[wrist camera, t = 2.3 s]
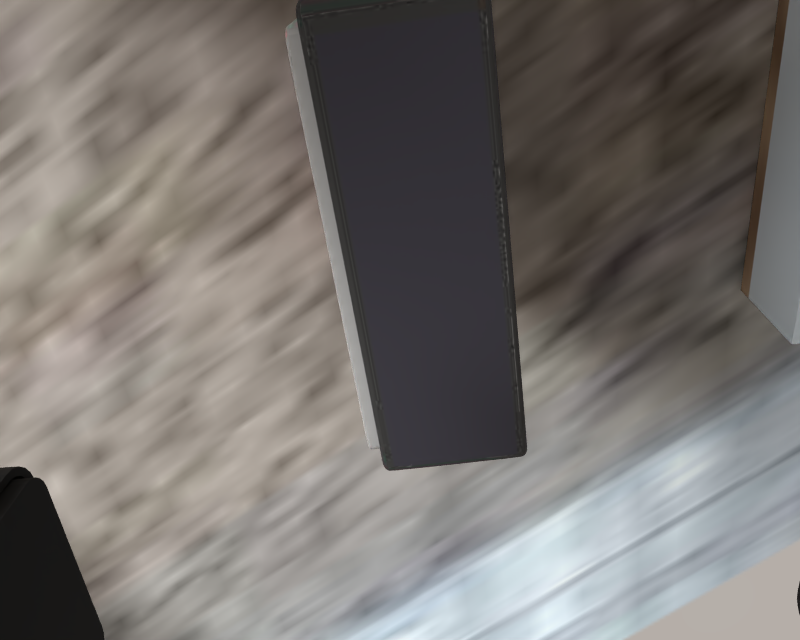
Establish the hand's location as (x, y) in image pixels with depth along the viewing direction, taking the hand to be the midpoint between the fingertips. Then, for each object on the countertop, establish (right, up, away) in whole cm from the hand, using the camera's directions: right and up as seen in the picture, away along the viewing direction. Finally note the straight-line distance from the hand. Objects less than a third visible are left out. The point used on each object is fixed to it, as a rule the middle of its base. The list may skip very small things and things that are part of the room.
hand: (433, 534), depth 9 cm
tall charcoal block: (0, +11, +20) cm, 23 cm away
